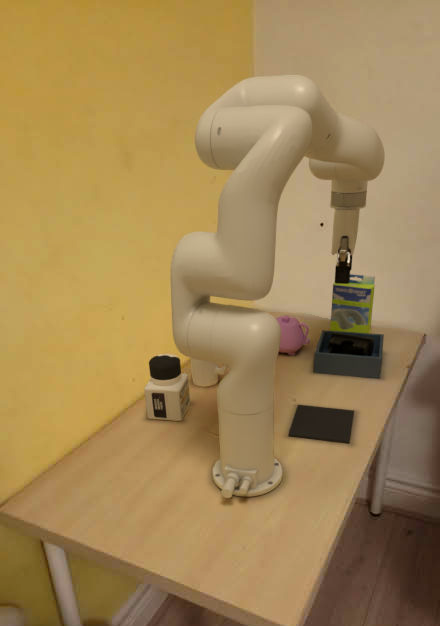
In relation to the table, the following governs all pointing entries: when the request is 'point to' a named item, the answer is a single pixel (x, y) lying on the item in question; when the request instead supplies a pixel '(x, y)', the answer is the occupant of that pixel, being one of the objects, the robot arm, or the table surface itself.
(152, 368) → the container
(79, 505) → the table surface
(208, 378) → the mug
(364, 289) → the box
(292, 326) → the teapot
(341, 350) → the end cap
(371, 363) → the bin
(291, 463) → the table surface
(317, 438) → the mat
